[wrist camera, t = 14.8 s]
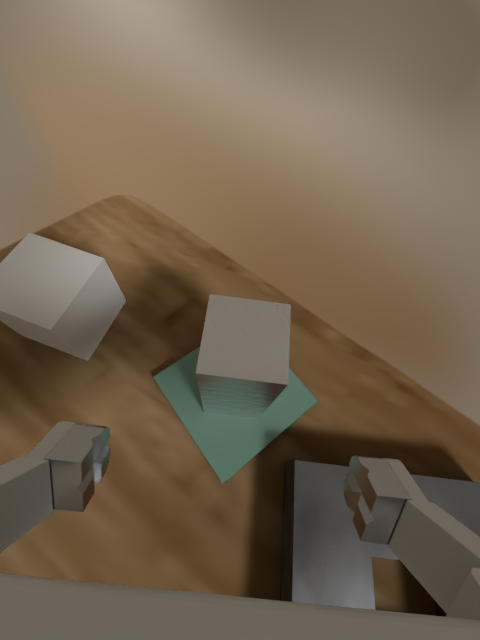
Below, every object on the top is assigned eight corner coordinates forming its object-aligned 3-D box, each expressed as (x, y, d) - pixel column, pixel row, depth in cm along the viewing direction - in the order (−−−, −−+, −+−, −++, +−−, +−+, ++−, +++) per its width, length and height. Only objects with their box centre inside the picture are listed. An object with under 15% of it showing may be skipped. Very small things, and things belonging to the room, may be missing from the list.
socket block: (548, 800, 15) (622, 874, 12) (274, 772, 14) (287, 841, 12) (476, 484, 21) (514, 486, 18) (284, 460, 21) (295, 460, 18)
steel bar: (258, 419, 21) (288, 384, 13) (203, 412, 21) (195, 373, 12) (262, 366, 23) (290, 304, 14) (212, 360, 23) (209, 294, 14)
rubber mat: (222, 483, 20) (222, 483, 19) (154, 379, 23) (152, 377, 22) (315, 402, 23) (317, 401, 22) (244, 319, 26) (245, 316, 25)
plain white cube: (67, 279, 26) (29, 231, 21) (127, 301, 26) (104, 257, 21) (22, 336, 24) (-34, 298, 18) (88, 362, 23) (50, 329, 18)
